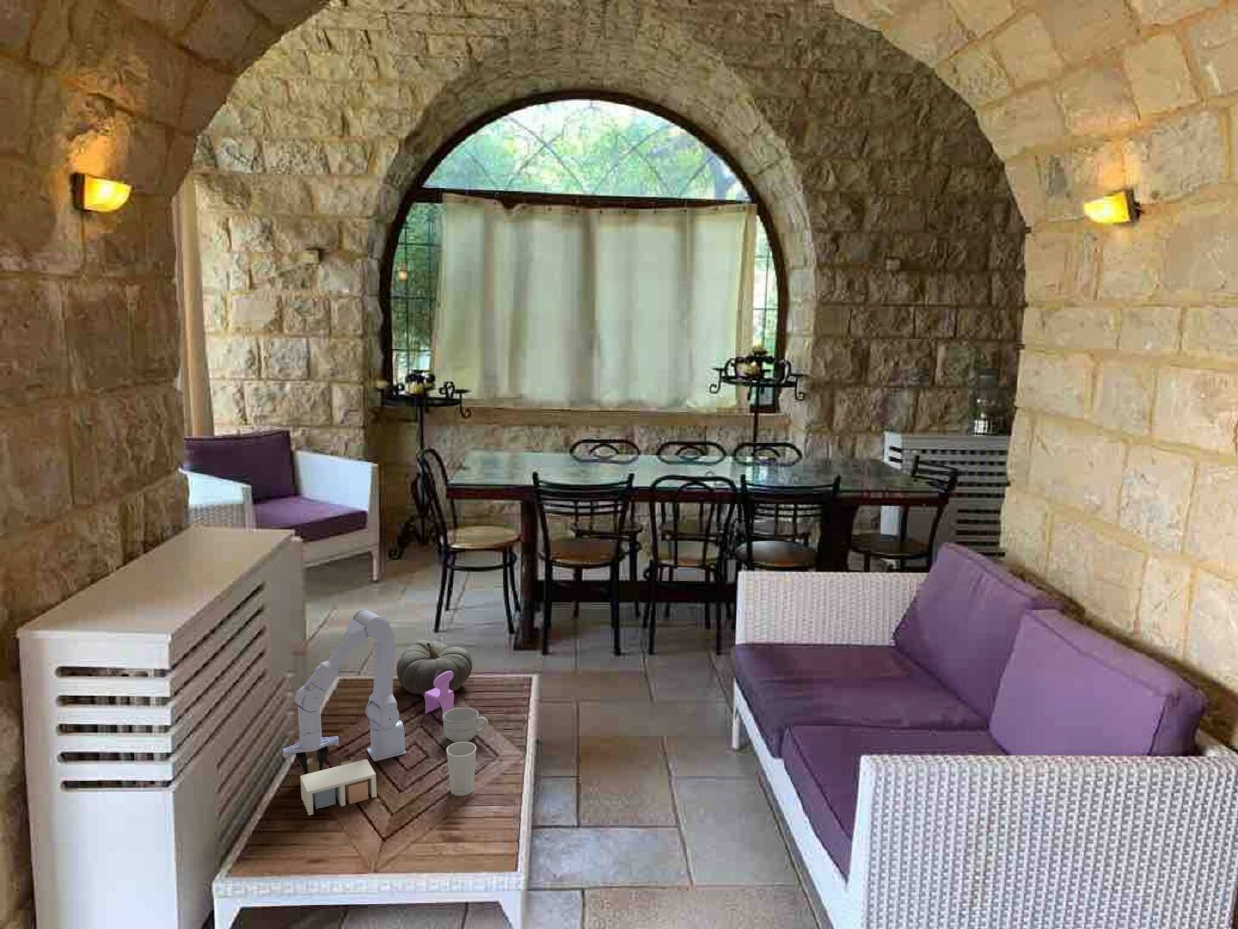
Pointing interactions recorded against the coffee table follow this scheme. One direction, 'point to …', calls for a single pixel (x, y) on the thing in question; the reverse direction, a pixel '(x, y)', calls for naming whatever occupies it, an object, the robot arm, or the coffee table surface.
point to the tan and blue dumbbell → (321, 797)
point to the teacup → (462, 724)
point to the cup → (461, 767)
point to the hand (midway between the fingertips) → (312, 774)
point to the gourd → (432, 666)
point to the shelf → (337, 781)
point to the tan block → (356, 789)
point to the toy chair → (440, 694)
